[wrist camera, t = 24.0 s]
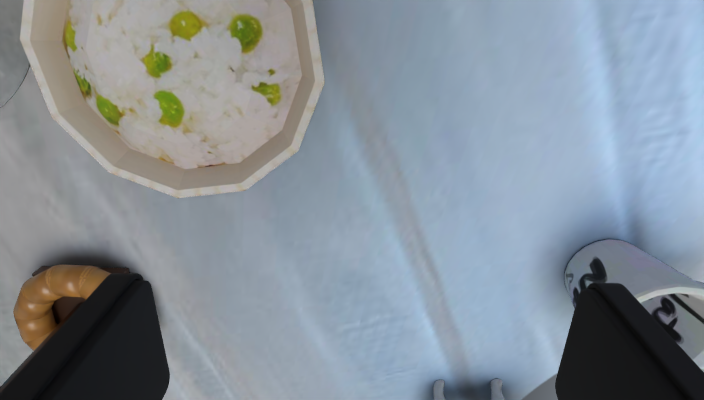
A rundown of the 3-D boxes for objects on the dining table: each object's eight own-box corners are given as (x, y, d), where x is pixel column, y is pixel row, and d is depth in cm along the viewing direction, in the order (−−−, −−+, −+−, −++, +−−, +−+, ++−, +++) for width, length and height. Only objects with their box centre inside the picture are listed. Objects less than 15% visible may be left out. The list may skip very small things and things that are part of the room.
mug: (555, 227, 42) (609, 289, 33) (716, 220, 42) (815, 281, 33) (542, 315, 47) (586, 391, 38) (688, 310, 46) (768, 386, 37)
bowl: (58, 68, 37) (-40, 90, 28) (166, -159, 31) (84, -225, 22) (252, 198, 42) (221, 253, 33) (382, 25, 35) (389, 34, 26)
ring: (13, 256, 43) (-10, 273, 41) (146, 261, 43) (131, 279, 41) (46, 358, 49) (28, 379, 46) (165, 362, 49) (153, 384, 46)
